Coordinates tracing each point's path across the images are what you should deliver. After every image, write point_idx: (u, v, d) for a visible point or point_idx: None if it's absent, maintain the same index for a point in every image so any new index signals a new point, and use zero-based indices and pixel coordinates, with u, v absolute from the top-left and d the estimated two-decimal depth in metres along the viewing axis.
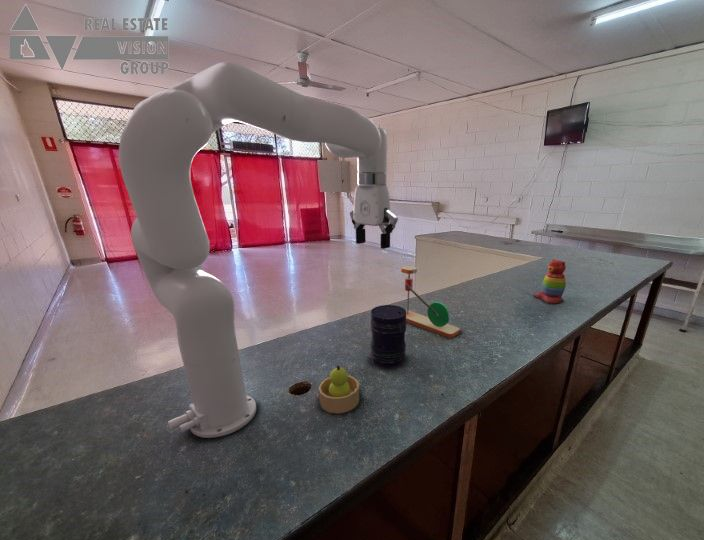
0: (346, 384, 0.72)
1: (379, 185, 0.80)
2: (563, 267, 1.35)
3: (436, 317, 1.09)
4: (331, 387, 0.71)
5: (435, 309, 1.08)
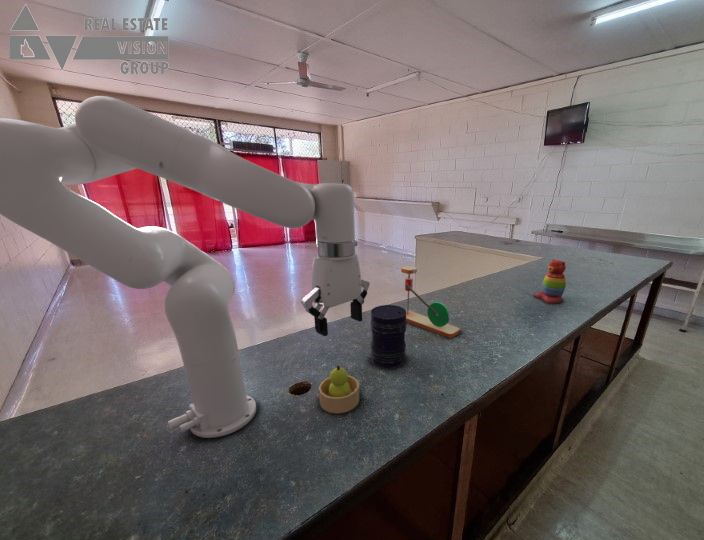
0: (346, 384, 0.72)
1: (319, 256, 0.61)
2: (563, 267, 1.35)
3: (436, 317, 1.09)
4: (331, 387, 0.71)
5: (435, 309, 1.08)
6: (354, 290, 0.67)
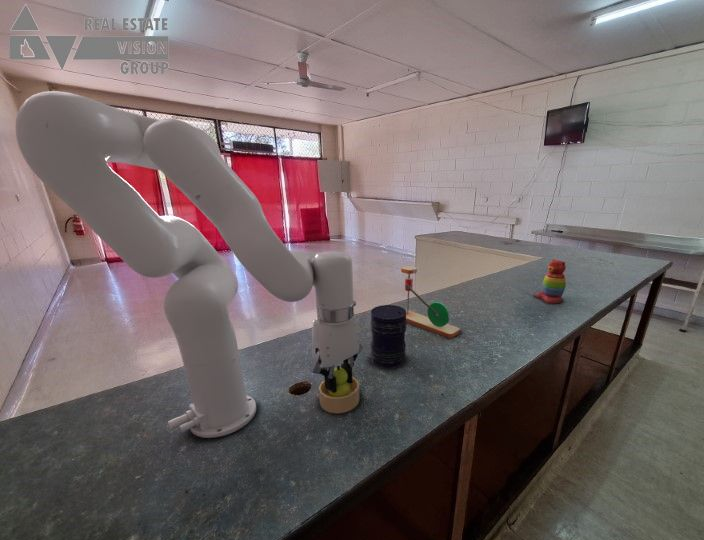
0: (346, 384, 0.72)
1: (318, 320, 0.64)
2: (563, 267, 1.35)
3: (436, 317, 1.09)
4: None
5: (435, 309, 1.08)
6: (352, 348, 0.69)
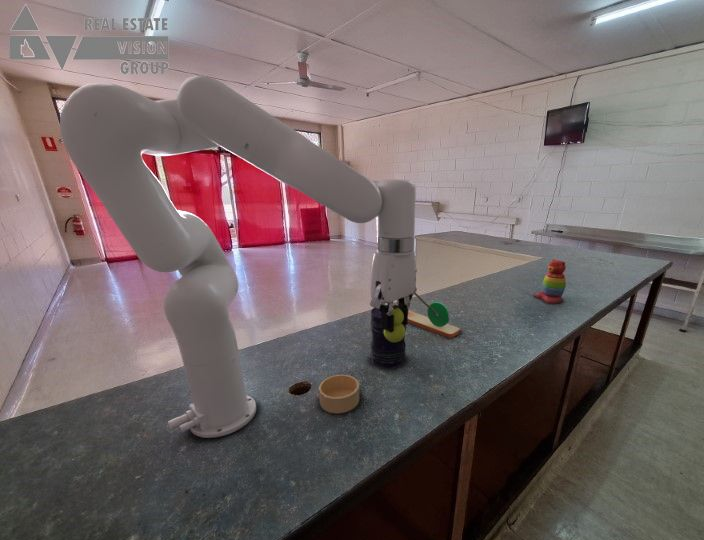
0: (402, 325, 0.70)
1: (379, 252, 0.62)
2: (563, 267, 1.35)
3: (436, 317, 1.09)
4: None
5: (435, 309, 1.08)
6: (410, 285, 0.67)
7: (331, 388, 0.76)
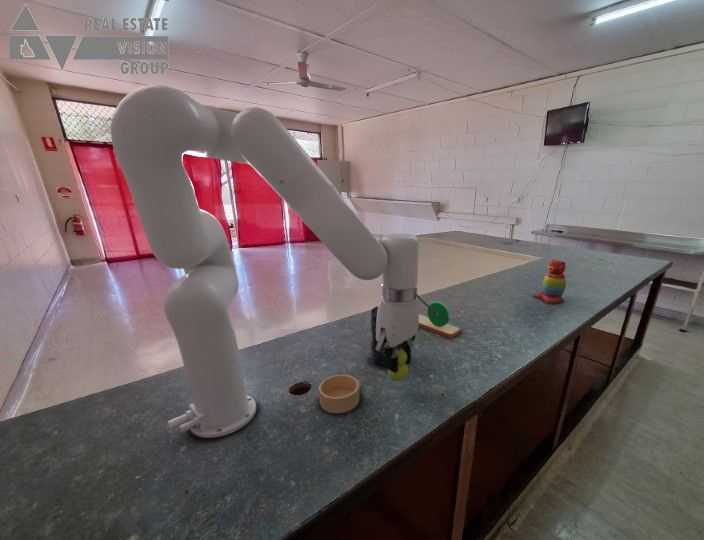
0: (405, 364, 0.74)
1: (384, 300, 0.66)
2: (563, 267, 1.35)
3: (436, 317, 1.09)
4: None
5: (435, 309, 1.08)
6: (413, 329, 0.71)
7: (331, 388, 0.76)
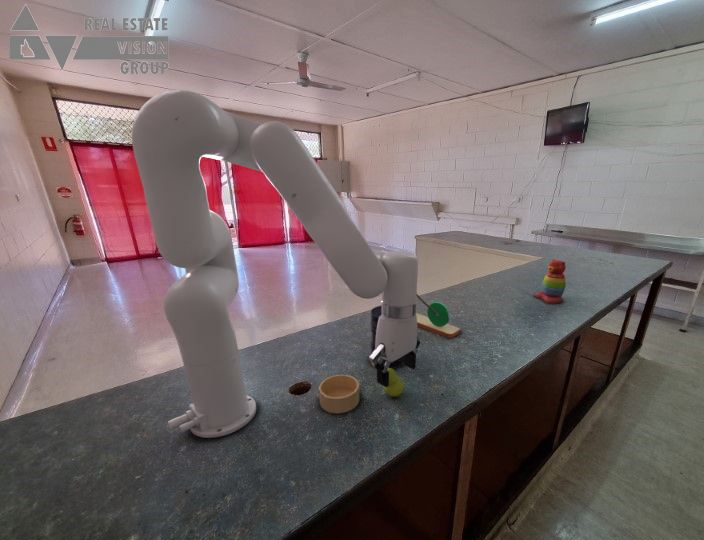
0: (398, 380, 0.74)
1: (384, 316, 0.67)
2: (563, 267, 1.35)
3: (436, 317, 1.09)
4: (385, 387, 0.74)
5: (435, 309, 1.08)
6: (412, 343, 0.72)
7: (331, 388, 0.76)
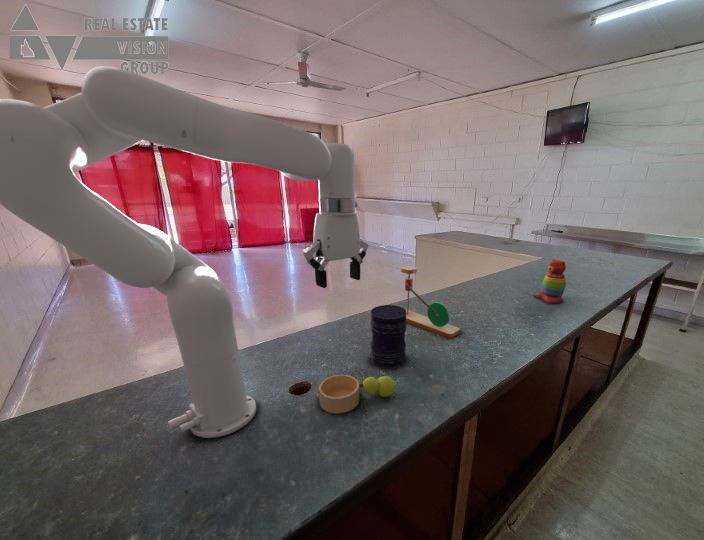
0: (381, 381, 0.74)
1: (321, 212, 0.67)
2: (563, 267, 1.35)
3: (436, 317, 1.09)
4: None
5: (435, 309, 1.08)
6: (353, 247, 0.72)
7: (331, 388, 0.76)
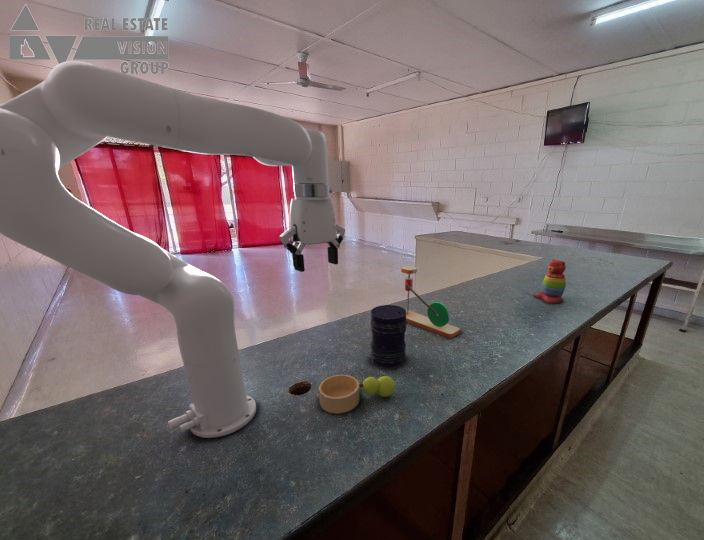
0: (381, 381, 0.74)
1: (295, 197, 0.69)
2: (563, 267, 1.35)
3: (436, 317, 1.09)
4: None
5: (435, 309, 1.08)
6: (329, 232, 0.74)
7: (331, 388, 0.76)
